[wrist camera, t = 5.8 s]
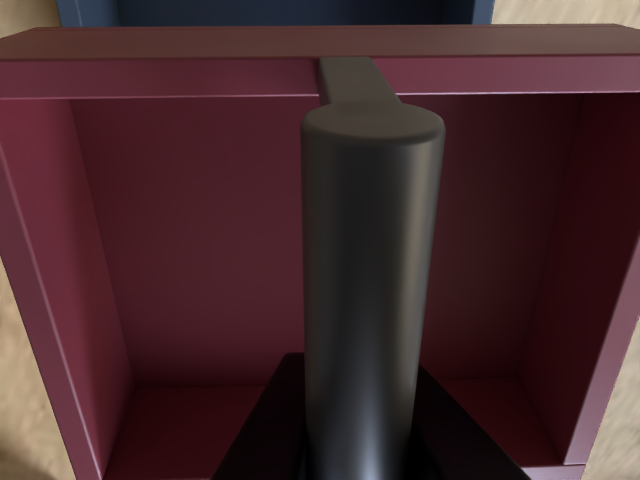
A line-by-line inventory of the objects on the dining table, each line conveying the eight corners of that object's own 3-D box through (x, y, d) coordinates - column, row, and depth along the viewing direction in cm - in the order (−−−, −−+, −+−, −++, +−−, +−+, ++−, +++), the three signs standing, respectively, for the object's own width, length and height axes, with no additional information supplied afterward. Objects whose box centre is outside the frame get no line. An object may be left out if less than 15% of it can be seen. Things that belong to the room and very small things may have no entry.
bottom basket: (142, 222, 22) (114, 275, 19) (94, -54, 17) (43, -53, 14) (430, 218, 22) (455, 268, 19) (461, -52, 18) (503, -51, 14)
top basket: (123, 391, 16) (2, 707, 9) (34, 27, 11) (-359, 150, 4) (526, 378, 16) (683, 672, 10) (615, 23, 11) (1055, 129, 5)
